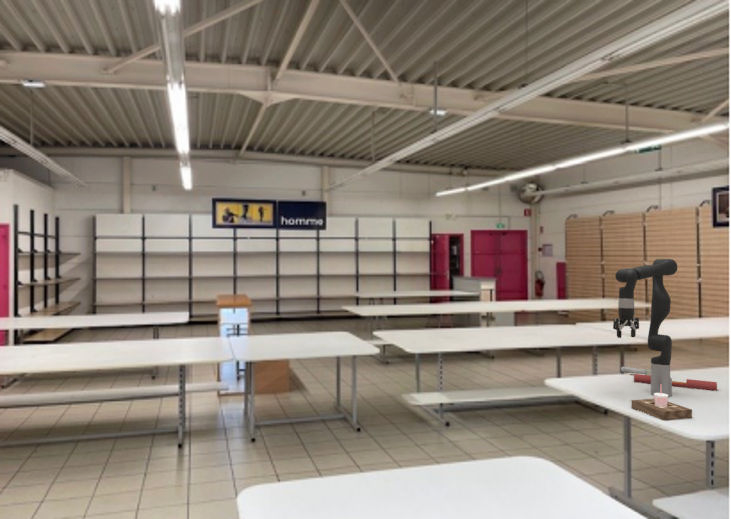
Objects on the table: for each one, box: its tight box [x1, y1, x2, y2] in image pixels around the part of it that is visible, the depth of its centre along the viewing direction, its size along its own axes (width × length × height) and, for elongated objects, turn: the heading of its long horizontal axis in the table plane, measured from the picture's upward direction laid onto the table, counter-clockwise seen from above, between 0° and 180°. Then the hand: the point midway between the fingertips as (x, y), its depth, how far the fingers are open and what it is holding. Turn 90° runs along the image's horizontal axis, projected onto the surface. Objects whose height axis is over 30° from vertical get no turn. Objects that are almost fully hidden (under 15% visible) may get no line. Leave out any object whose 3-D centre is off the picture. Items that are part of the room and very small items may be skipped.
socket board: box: [630, 398, 693, 421], centre depth 246 cm, size 16×20×4 cm
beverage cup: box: [653, 384, 669, 407], centre depth 246 cm, size 6×6×14 cm
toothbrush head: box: [619, 366, 651, 375], centre depth 327 cm, size 5×7×25 cm
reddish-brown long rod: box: [633, 373, 718, 391], centre depth 301 cm, size 42×5×5 cm, turn 61°
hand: (626, 337), depth 270 cm, fingers open, 8 cm apart
